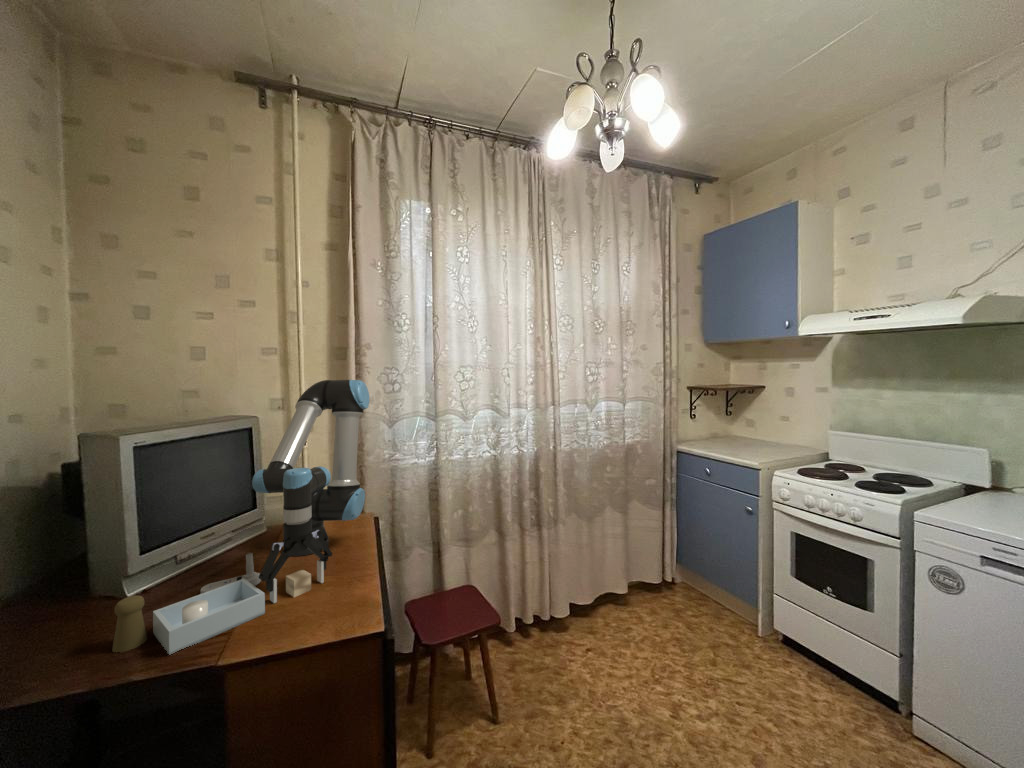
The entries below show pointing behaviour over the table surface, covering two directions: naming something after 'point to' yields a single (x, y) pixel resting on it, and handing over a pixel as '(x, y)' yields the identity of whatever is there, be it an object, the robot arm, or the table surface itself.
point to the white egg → (194, 610)
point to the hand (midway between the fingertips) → (298, 591)
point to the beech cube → (298, 583)
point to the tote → (208, 615)
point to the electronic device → (249, 576)
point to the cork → (129, 624)
